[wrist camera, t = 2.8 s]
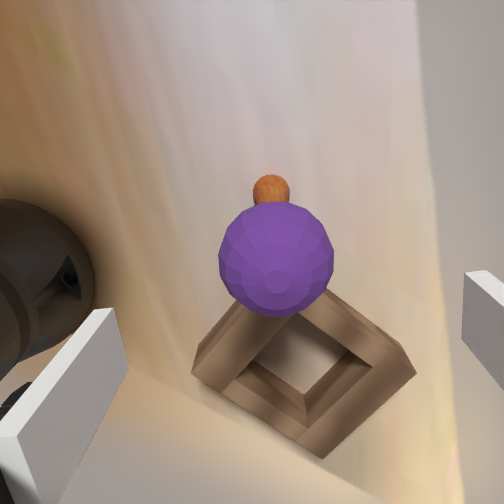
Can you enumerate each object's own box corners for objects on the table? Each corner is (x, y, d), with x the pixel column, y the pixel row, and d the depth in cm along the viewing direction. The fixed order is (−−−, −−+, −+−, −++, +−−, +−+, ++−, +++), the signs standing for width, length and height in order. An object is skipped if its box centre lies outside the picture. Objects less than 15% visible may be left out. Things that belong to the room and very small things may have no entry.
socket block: (198, 344, 44) (190, 373, 39) (277, 251, 40) (279, 271, 35) (316, 423, 47) (322, 459, 42) (400, 343, 43) (416, 373, 38)
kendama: (263, 236, 40) (262, 359, 21) (225, 186, 38) (185, 268, 19) (317, 200, 38) (367, 295, 19) (279, 145, 37) (293, 192, 18)
